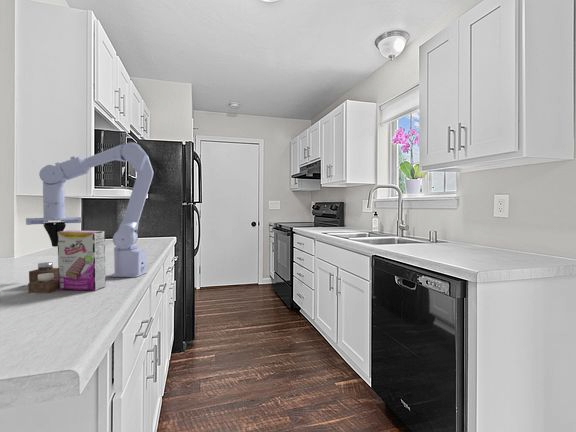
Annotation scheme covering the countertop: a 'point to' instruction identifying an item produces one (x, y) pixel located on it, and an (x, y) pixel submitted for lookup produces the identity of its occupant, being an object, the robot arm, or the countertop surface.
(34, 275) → the tall socket
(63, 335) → the countertop surface
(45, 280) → the cream knob
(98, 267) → the candy bar box
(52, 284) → the low socket
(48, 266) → the steel knob
